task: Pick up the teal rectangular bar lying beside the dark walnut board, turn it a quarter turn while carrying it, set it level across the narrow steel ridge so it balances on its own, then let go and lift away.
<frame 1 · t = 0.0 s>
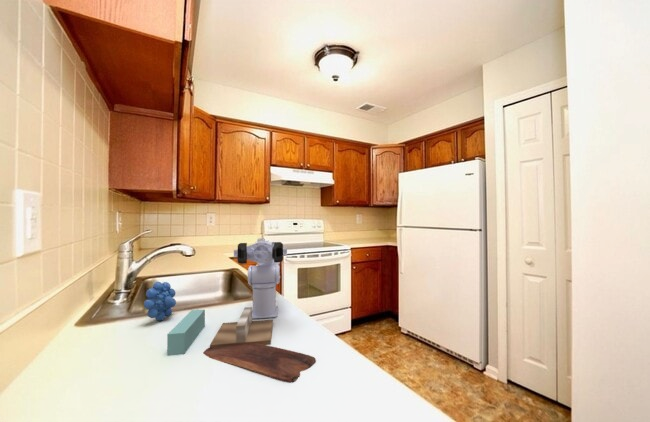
hand: (258, 253, 68), 22 cm above the countertop, tool horizontal, fingers open, 7 cm apart
wooden tablet: (255, 359, 60), on the countertop
grapes: (163, 321, 82), on the countertop
ridge: (244, 334, 71), on the countertop
teal rectangular bar: (188, 340, 69), on the countertop
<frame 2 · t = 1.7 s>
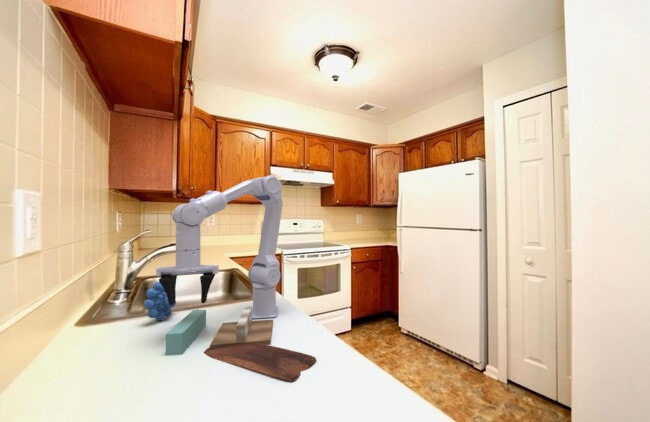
hand: (188, 302, 69), 9 cm above the countertop, tool pointing down, fingers open, 7 cm apart
nothing on the countertop moved.
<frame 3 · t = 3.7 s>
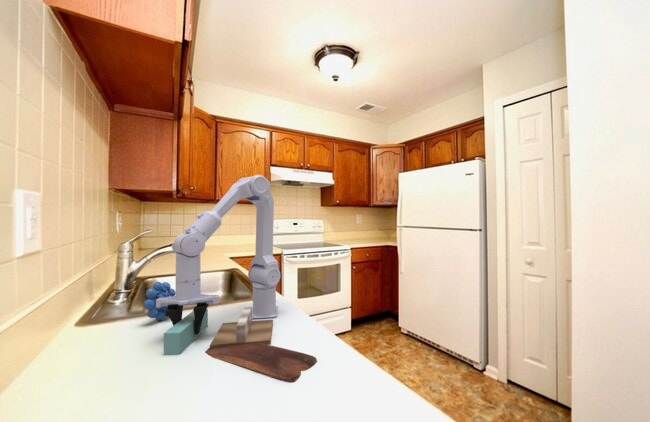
hand: (188, 333, 69), 1 cm above the countertop, tool pointing down, fingers closed on teal rectangular bar, 4 cm apart
teal rectangular bar: (188, 339, 69), on the countertop, touching gripper
everything else where it was.
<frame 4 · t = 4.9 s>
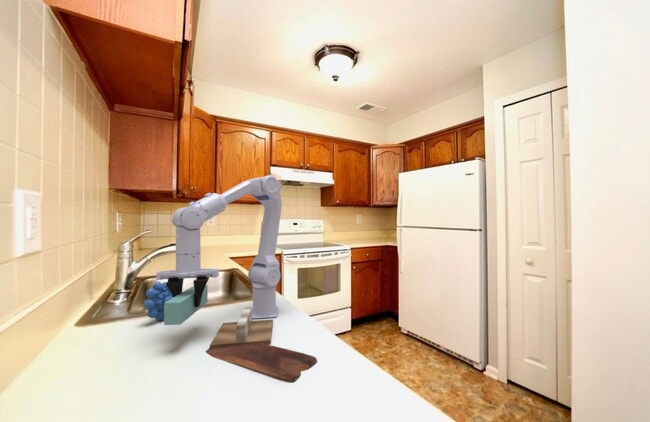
hand: (188, 306, 69), 8 cm above the countertop, tool pointing down, fingers closed on teal rectangular bar, 4 cm apart
teal rectangular bar: (188, 312, 69), point 7 cm above the countertop, touching gripper
everything else where it was.
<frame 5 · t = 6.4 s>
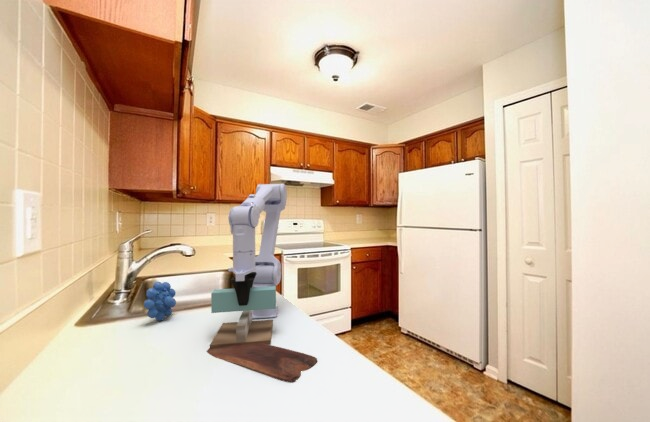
hand: (244, 302, 71), 8 cm above the countertop, tool pointing down, fingers closed on teal rectangular bar, 4 cm apart
teal rectangular bar: (245, 308, 71), point 7 cm above the countertop, touching gripper
everything else where it was.
when the fingers open (7 cm above the countertop, at t = 7.5 s): teal rectangular bar stays where it is, resting on ridge.
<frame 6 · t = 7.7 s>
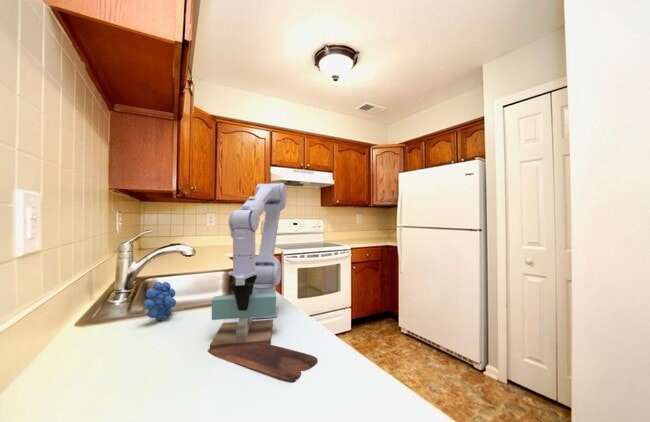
hand: (244, 306, 71), 7 cm above the countertop, tool pointing down, fingers open, 5 cm apart
teal rectangular bar: (245, 315, 71), point 5 cm above the countertop, touching ridge
everything else where it was.
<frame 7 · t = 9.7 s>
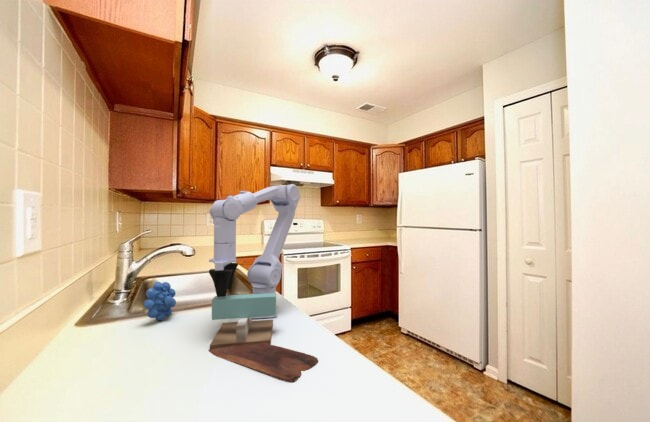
hand: (224, 292, 74), 10 cm above the countertop, tool pointing down, fingers open, 7 cm apart
nothing on the countertop moved.
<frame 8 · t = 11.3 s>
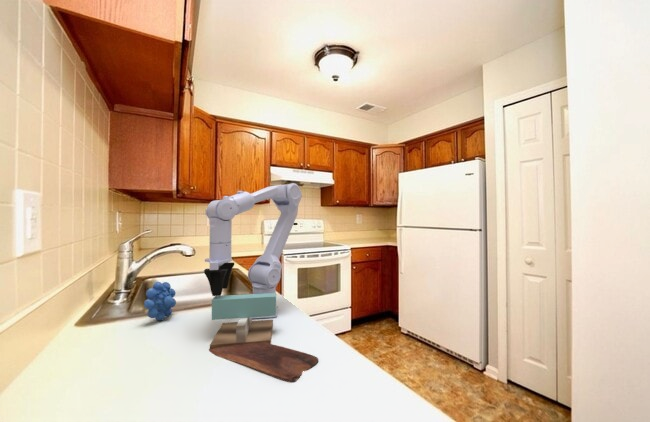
hand: (220, 291, 75), 10 cm above the countertop, tool pointing down, fingers open, 7 cm apart
nothing on the countertop moved.
at the end: teal rectangular bar 0.1 cm off-centre on the ridge, point 5.0 cm above the ridge's base; teal rectangular bar tilted 0°; teal rectangular bar touching ridge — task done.
